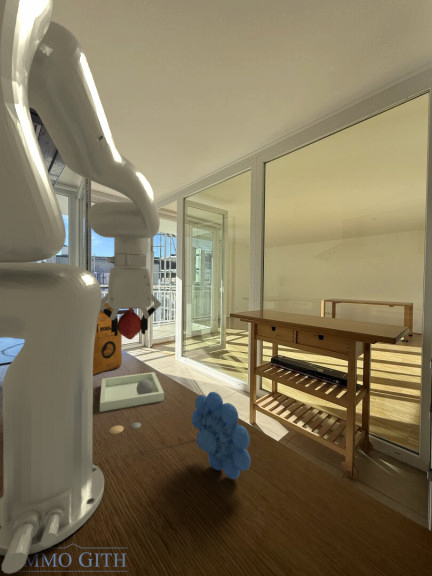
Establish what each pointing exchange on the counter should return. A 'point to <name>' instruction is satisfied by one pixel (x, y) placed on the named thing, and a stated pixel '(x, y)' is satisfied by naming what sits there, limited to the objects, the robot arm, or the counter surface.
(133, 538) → the counter surface
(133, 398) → the dish
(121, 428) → the tile
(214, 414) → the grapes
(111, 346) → the coffee package
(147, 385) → the ball
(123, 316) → the onion
